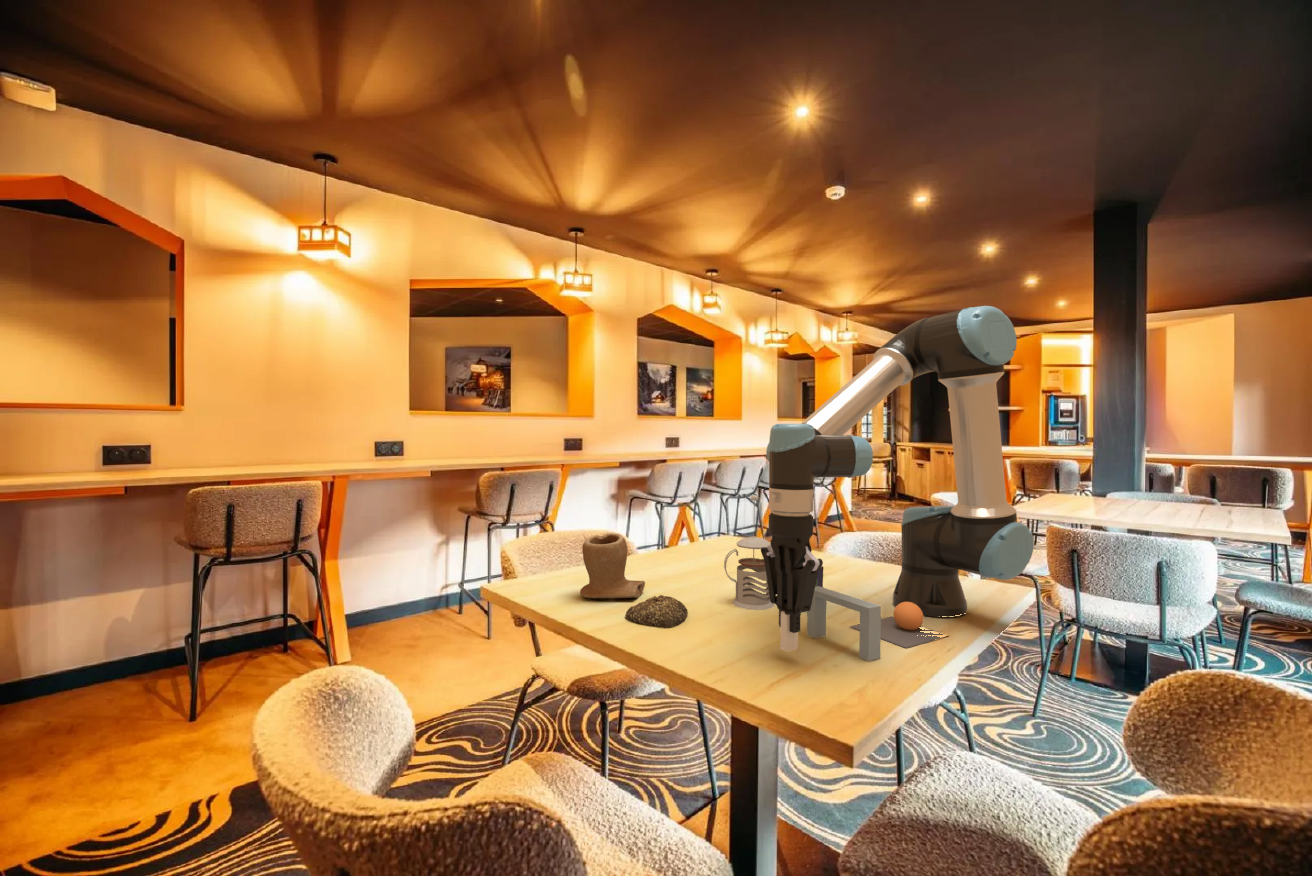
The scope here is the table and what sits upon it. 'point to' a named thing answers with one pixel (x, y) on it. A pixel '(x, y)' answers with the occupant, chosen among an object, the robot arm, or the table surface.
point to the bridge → (868, 611)
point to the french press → (746, 594)
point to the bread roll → (658, 612)
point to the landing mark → (901, 634)
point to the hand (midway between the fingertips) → (789, 648)
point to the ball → (908, 615)
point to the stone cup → (608, 568)
